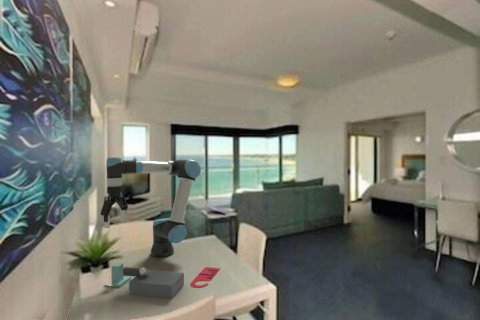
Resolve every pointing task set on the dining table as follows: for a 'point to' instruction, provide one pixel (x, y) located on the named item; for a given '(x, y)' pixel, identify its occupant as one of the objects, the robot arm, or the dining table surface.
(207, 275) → the door hanger
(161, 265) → the dining table surface
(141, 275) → the grey lever handle
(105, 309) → the dining table surface
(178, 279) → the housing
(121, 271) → the cover
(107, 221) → the robot arm
